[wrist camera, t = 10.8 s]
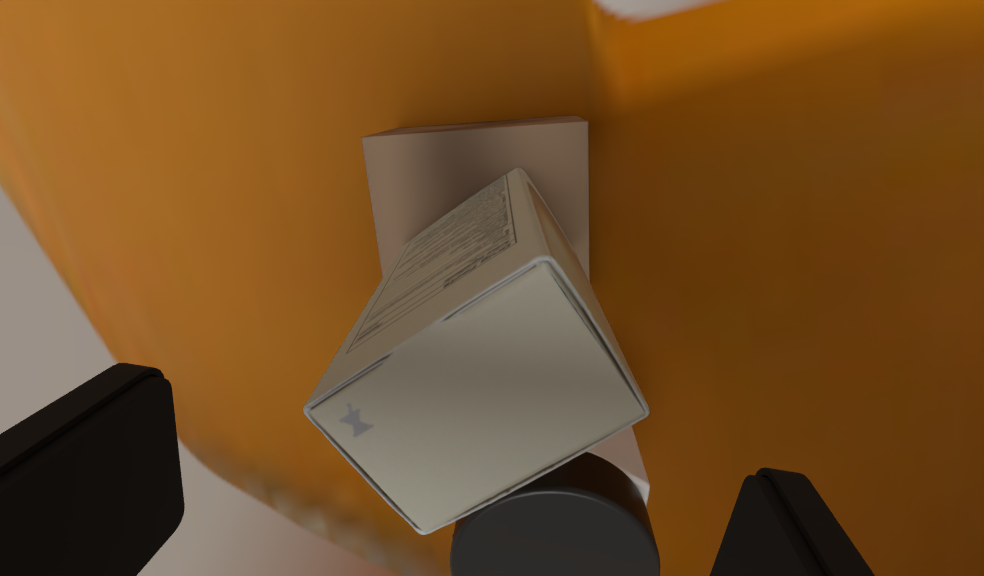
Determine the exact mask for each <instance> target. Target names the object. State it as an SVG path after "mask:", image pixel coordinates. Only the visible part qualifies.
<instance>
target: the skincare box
mask: <svg viewBox="0 0 984 576" xmlns="http://www.w3.org/2000/svg"><path fill="white" fill-rule="evenodd" d="M303 411H304V414H305V415H306V416H307V417H308V418H309V420H310V421H311V422H312V423H313V424H314V425H315V426H316V427H317V428H318V429H319V430H320V431H321V432H322V433H323V434H324V435H325V436H326V438H327V439H328V440H329V441H330V442H331V443H332V445H333V446H335V447H336V448H337V450H338V451H339V452H340V453H341V454H342V455H343V456H344V457H345V458H346V460H347V461H348V462H349V463H350V464H351V465H352V466H353V467H354V468H355V469H356V470H357V471H358V472H359V473H360V474H361V475H362V476H363V478H364V479H365V480H366V481H367V482H368V483H369V484H370V485H371V486H372V487H373V488H374V489H375V490H376V491H377V492H378V493H379V495H380V496H381V497H382V498H383V499H384V500H385V501H386V502H387V503H388V504H389V505H390V506H391V507H392V508H393V509H394V510H395V511H396V512H397V513H398V514H399V515H401V516H402V517H403V518H404V519H405V520H406V521H407V522H408V523H409V524H410V525H411V526H412V527H413V528H414V529H415V530H416V531H417V532H418V533H419V534H422V535H426V534H429V533H432V532H433V531H435V530H437V529H439V528H441V527H444V526H446V525H449V524H451V523H452V522H454V521H456V520H458V519H460V518H463V517H465V516H467V515H469V514H471V513H473V512H475V511H477V510H479V509H481V508H483V507H485V506H486V505H488V504H491V503H493V502H495V501H496V500H498V499H500V498H502V497H504V496H506V495H508V494H510V493H511V492H513V491H515V490H516V489H518V488H521V487H522V486H524V485H526V484H528V483H530V482H532V481H534V480H536V479H537V478H539V477H541V476H543V475H544V474H546V473H548V472H550V471H552V470H554V469H555V468H557V467H559V466H561V465H563V464H565V463H566V462H569V461H570V460H572V459H573V458H575V457H577V456H579V455H581V454H583V453H585V452H586V451H588V450H590V449H592V448H593V447H595V446H597V445H598V444H600V443H602V442H603V441H605V440H607V439H609V438H611V437H613V436H614V435H616V434H617V433H619V432H621V431H622V430H624V429H626V428H628V427H630V426H631V425H633V424H635V423H637V422H638V421H640V420H642V419H644V418H646V417H647V416H648V415H649V408H648V405H647V403H646V400H645V398H644V396H643V394H642V392H641V390H640V388H639V386H638V384H637V382H636V380H635V378H634V376H633V374H632V372H631V370H630V368H629V366H628V364H627V361H626V359H625V357H624V355H623V353H622V351H621V349H620V346H619V344H618V342H617V340H616V338H615V336H614V334H613V331H612V329H611V327H610V325H609V323H608V321H607V319H606V317H605V314H604V312H603V310H602V308H601V306H600V304H599V302H598V300H597V298H596V296H595V293H594V291H593V289H592V287H591V285H590V283H589V281H588V279H587V276H586V274H585V272H584V270H583V268H582V266H581V264H580V262H579V260H578V257H577V255H576V253H575V251H574V249H573V247H572V245H571V244H570V242H569V240H568V239H567V237H566V235H565V234H564V232H563V230H562V229H561V227H560V225H559V224H558V222H557V221H556V219H555V217H554V216H553V214H552V212H551V211H550V209H549V208H548V206H547V204H546V203H545V201H544V199H543V198H542V196H541V195H540V193H539V192H538V190H537V189H536V187H535V186H534V184H533V183H532V181H531V180H530V178H529V177H528V175H527V174H526V172H525V171H524V170H523V169H522V168H515V169H514V170H512V171H510V172H509V173H507V174H506V175H504V176H502V177H501V178H499V179H498V180H496V181H494V182H493V183H491V184H490V185H488V186H487V187H485V188H484V189H482V190H481V191H479V192H478V193H476V194H475V195H473V196H472V197H470V198H469V199H467V200H466V201H465V202H463V203H462V204H460V205H459V206H457V207H456V208H455V209H453V210H452V211H450V212H449V213H447V214H446V215H445V216H443V217H442V218H440V219H439V220H437V221H436V222H435V223H433V224H432V225H430V226H429V227H428V228H426V229H425V230H424V231H422V232H421V233H419V234H418V235H417V236H416V237H414V238H413V239H412V240H410V241H409V242H407V243H406V244H405V245H404V246H403V247H402V248H401V249H400V251H399V252H398V254H397V256H396V257H395V259H394V261H393V262H392V264H391V266H390V267H389V269H388V271H387V272H386V274H385V276H384V277H383V279H382V280H381V282H380V284H379V285H378V287H377V289H376V290H375V292H374V293H373V295H372V297H371V298H370V300H369V302H368V303H367V305H366V307H365V308H364V310H363V311H362V313H361V315H360V316H359V318H358V319H357V321H356V323H355V324H354V326H353V327H352V329H351V331H350V332H349V334H348V335H347V337H346V339H345V341H344V342H343V344H342V345H341V347H340V349H339V350H338V352H337V353H336V355H335V357H334V358H333V360H332V362H331V364H330V365H329V367H328V368H327V370H326V372H325V373H324V375H323V376H322V378H321V380H320V381H319V383H318V385H317V386H316V388H315V390H314V391H313V393H312V395H311V397H310V398H309V399H308V401H307V402H306V404H305V406H304V408H303Z"/></svg>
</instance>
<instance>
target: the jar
mask: <svg viewBox="0 0 984 576" xmlns="http://www.w3.org/2000/svg"><path fill="white" fill-rule="evenodd" d="M649 490H650V485H649V481H648V478H647V475H646V471H645V468H644V465H643V461H642V458H641V455H640V451H639V448H638V445H637V441H636V438H635V434H634V431H633V428H632V425H631V426H630V427H628V428H626V429H624V430H622V431H621V432H619V433H617V434H616V435H614V436H613V437H611V438H609V439H607V440H605V441H603V442H602V443H600V444H598V445H597V446H595V447H593V448H592V449H590V450H588V451H586V452H585V453H583V454H581V455H579V456H577V457H575V458H573V459H572V460H570V461H569V462H566V463H565V464H563V465H561V466H559V467H557V468H555V469H554V470H552V471H550V472H548V473H546V474H544V475H543V476H541V477H539V478H537V479H536V480H534V481H532V482H530V483H528V484H526V485H524V486H522V487H521V488H518V489H516V490H515V491H513V492H511V493H510V494H508V495H506V496H504V497H502V498H500V499H498V500H496V501H495V502H493V503H491V504H488V505H486V506H485V507H483V508H481V509H479V510H477V511H475V512H473V513H471V514H469V515H467V516H465V517H463V518H460V519H458V520H456V524H455V530H454V534H453V541H452V547H451V553H450V568H451V574H452V576H660V558H659V553H658V549H657V545H656V542H655V538H654V534H653V531H652V527H651V523H650V520H649V516H648V512H647V509H646V506H647V501H648V496H649Z"/></svg>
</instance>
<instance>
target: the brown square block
mask: <svg viewBox="0 0 984 576" xmlns="http://www.w3.org/2000/svg"><path fill="white" fill-rule="evenodd" d="M361 139H362V145H363V152H364V158H365V165H366V171H367V178H368V184H369V191H370V198H371V204H372V211H373V217H374V224H375V230H376V237H377V243H378V250H379V257H380V263H381V270H382V276H383V277H384V276H385V274H386V272H387V271H388V269H389V267H390V266H391V264H392V262H393V261H394V259H395V257H396V256H397V254H398V252H399V251H400V249H401V248H402V247H403V246H404V245H405V244H406V243H407V242H409V241H410V240H412V239H413V238H414V237H416V236H417V235H418V234H419V233H421V232H422V231H424V230H425V229H426V228H428V227H429V226H430V225H432V224H433V223H435V222H436V221H437V220H439V219H440V218H442V217H443V216H445V215H446V214H447V213H449V212H450V211H452V210H453V209H455V208H456V207H457V206H459V205H460V204H462V203H463V202H465V201H466V200H467V199H469V198H470V197H472V196H473V195H475V194H476V193H478V192H479V191H481V190H482V189H484V188H485V187H487V186H488V185H490V184H491V183H493V182H494V181H496V180H498V179H499V178H501V177H502V176H504V175H506V174H507V173H509V172H510V171H512V170H514V169H515V168H522V169H523V170H524V171H525V172H526V174H527V175H528V177H529V178H530V180H531V181H532V183H533V184H534V186H535V187H536V189H537V190H538V192H539V193H540V195H541V196H542V198H543V199H544V201H545V203H546V204H547V206H548V208H549V209H550V211H551V212H552V214H553V216H554V217H555V219H556V221H557V222H558V224H559V225H560V227H561V229H562V230H563V232H564V234H565V235H566V237H567V239H568V240H569V242H570V244H571V245H572V247H573V249H574V251H575V253H576V255H577V257H578V260H579V262H580V264H581V266H582V268H583V270H584V272H585V274H586V276H587V279H588V281H589V177H588V121H587V120H585V119H583V118H581V117H579V116H577V115H574V116H561V117H547V118H533V119H519V120H505V121H492V122H478V123H464V124H450V125H437V126H423V127H409V128H396V129H392V130H388V131H384V132H380V133H377V134H373V135H369V136H365V137H361Z"/></svg>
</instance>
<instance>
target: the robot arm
mask: <svg viewBox="0 0 984 576" xmlns="http://www.w3.org/2000/svg"><path fill="white" fill-rule="evenodd" d="M183 514H184V497H183V488H182V478H181V470H180V461H179V450H178V441H177V432H176V422H175V413H174V404H173V394H172V387H171V383H170V382H169V381H168V380H167V379H164V375H163V373H162V372H161V371H160V370H159V369H157V368H153V367H146V366H140V365H134V364H128V363H118V364H116V365H113V366H112V367H110V368H108V369H107V370H105V371H103V372H102V373H100V374H98V375H97V376H95V377H93V378H92V379H90V380H89V381H87V382H85V383H84V384H82V385H80V386H79V387H77V388H75V389H74V390H72V391H70V392H69V393H68V394H66V395H64V396H62V397H61V398H59V399H57V400H56V401H54V402H52V403H51V404H49V405H48V406H46V407H44V408H43V409H41V410H39V411H38V412H36V413H34V414H33V415H31V416H29V417H28V418H26V419H25V420H23V421H21V422H20V423H18V424H16V425H15V426H13V427H11V428H10V429H8V430H6V431H5V432H3V433H1V434H0V576H137V574H138V573H139V572H140V571H141V570H142V569H143V567H144V566H145V565H146V564H147V563H148V562H149V561H150V559H151V558H152V557H153V556H154V555H155V554H156V552H157V551H158V550H159V549H160V548H161V547H162V545H163V544H164V543H165V542H166V541H167V540H168V539H169V537H170V536H171V535H172V534H173V533H174V532H175V530H176V529H177V527H178V526H179V524H180V522H181V520H182V517H183ZM710 576H875V575H874V574H873V572H872V571H871V569H870V568H869V566H868V565H867V564H866V562H865V561H864V559H863V558H862V556H861V555H860V553H859V552H858V550H857V549H856V547H855V546H854V545H853V543H852V542H851V540H850V539H849V537H848V536H847V534H846V533H845V531H844V530H843V529H842V527H841V526H840V524H839V523H838V521H837V520H836V518H835V517H834V515H833V514H832V512H831V511H830V510H829V508H828V507H827V505H826V504H825V502H824V501H823V499H822V498H821V496H820V495H819V494H818V492H817V491H816V489H815V488H814V486H813V485H812V483H811V482H810V480H809V479H808V478H807V477H806V476H805V475H803V474H800V473H795V472H789V471H783V470H777V469H771V468H761V469H760V470H759V471H758V472H757V473H756V475H755V476H754V475H749V476H747V477H746V478H745V480H744V482H743V484H742V487H741V490H740V493H739V495H738V498H737V501H736V504H735V507H734V509H733V512H732V515H731V518H730V521H729V523H728V526H727V529H726V532H725V535H724V537H723V540H722V543H721V546H720V549H719V551H718V554H717V557H716V560H715V563H714V565H713V568H712V571H711V574H710Z"/></svg>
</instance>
